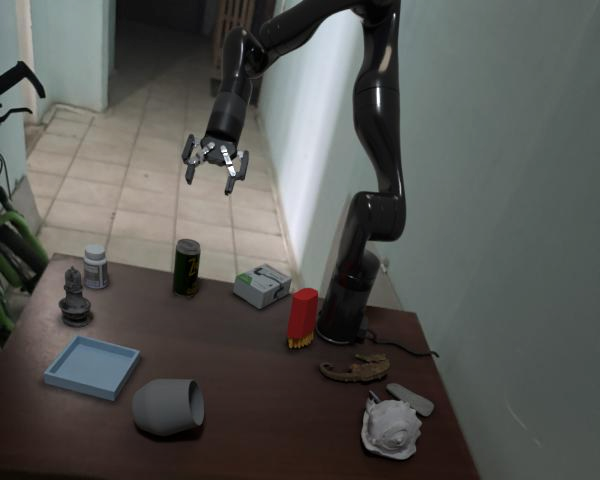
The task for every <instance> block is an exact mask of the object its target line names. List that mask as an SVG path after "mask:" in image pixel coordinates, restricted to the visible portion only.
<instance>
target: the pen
mask: <svg viewBox="0 0 600 480" xmlns="http://www.w3.org/2000/svg"><path fill="white" fill-rule="evenodd" d="M368 391H369V393H370V394H371V395H370V396H371V397H372V399H374V401H376V403H377V404H379V403H381V402H382V400H381V399H380V398H379V397H378V396H377V395H376V394H375V393H374V392H373V391H372V390H370V389H369V390H368Z"/></svg>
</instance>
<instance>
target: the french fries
mask: <svg viewBox="0 0 600 480" xmlns="http://www.w3.org/2000/svg"><path fill="white" fill-rule="evenodd" d="M318 303H319V290H318V289H315V288H312V287H303V288H301V289H299V290H297V291H295V292H294V293H293V294H292V301H291V306H290V313H289V318H288V319H289V320H288V325H287V332H286V336H287V342H288V347H289V348H290V349H292V348H293V347H294V348H295V349H296V348H298V349H301V347H302V348H304V347H305V346H309V345H310V344H311V343H312V341H313V340H314V330H315V327H316V322H317V321H316V320H317V313H318V311H317V310H318Z"/></svg>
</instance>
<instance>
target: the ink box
mask: <svg viewBox="0 0 600 480" xmlns="http://www.w3.org/2000/svg"><path fill="white" fill-rule="evenodd" d="M292 280H293V278H292V277H291V276H289V275H287V274H286V273H284V272H282V271H280V270H279V269H277V268H275V267H274V266H272V265H270V264H269V263H263V264H261V265H259V266H256V267H254V268H252V269H249V270H247V271H245V272H242V273H240V274H238V275H236V276H235V279H234V283H233V289H232V293H233V294H234V295H236V296H237V297H239V298H240V299H242V300H243V301H245V302H247V303H248V304H250V305H252V306H253V307H254V308H257V309H258V310H262V309H263V308H266V307H267V306H269V305H271V304H272V303H275V302H276V301H278V300H280V299H282V298H284V297H285V296H288V295H289V294H290V290H291V285H292ZM284 292H286V293H284Z"/></svg>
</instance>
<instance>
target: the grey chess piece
mask: <svg viewBox="0 0 600 480" xmlns="http://www.w3.org/2000/svg"><path fill="white" fill-rule="evenodd" d="M64 281H65V282H64V283H65V284H63V290H64V291H65V297H62V299H60V300H59V301H58V308H59V309H60V311H61V313H62V316H61V323H63V324H64V325H65V326H66V327H70V328H71V327H72V328H82V327H85V326H87V325H88V324H90V323H91V317H90V315H89V312H90V309H91V308H92V303H91V301H90V300H89V299H87V298H86V297H84V295H83V294H84V293H83V291H84V289H85V287H84V285H83V284H82V273H81V272H80V271H79V270H78V269H76V268H75V267H74V266H73V265H71V267H70V268H69V269H67V270H66V271H65V272H64Z"/></svg>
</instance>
